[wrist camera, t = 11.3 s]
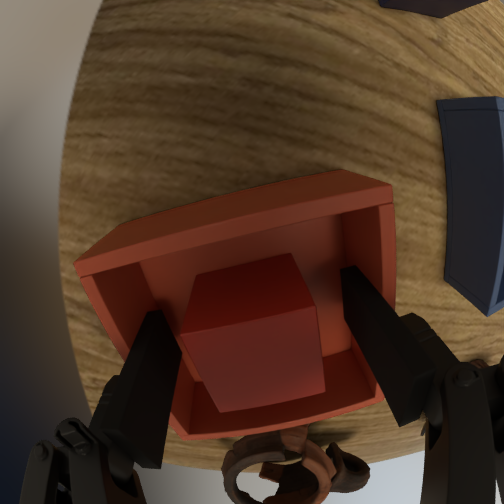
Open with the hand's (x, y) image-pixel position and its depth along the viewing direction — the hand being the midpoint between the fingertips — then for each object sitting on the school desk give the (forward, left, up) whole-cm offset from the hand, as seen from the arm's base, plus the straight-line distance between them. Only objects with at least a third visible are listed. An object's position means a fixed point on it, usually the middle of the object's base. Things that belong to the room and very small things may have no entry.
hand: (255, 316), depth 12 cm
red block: (0, 0, -1) cm, 1 cm away
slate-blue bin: (-3, +17, -2) cm, 17 cm away
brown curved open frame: (+15, 0, -2) cm, 15 cm away
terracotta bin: (0, 0, -2) cm, 2 cm away
